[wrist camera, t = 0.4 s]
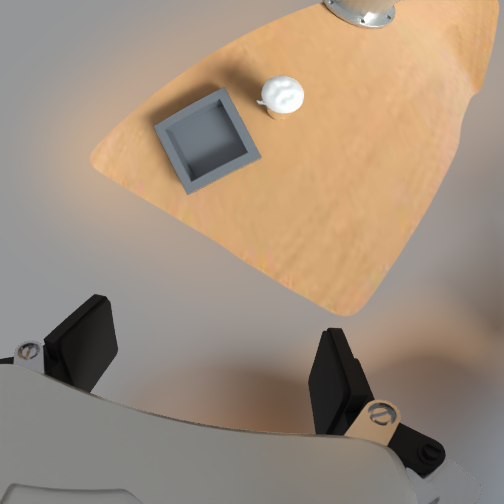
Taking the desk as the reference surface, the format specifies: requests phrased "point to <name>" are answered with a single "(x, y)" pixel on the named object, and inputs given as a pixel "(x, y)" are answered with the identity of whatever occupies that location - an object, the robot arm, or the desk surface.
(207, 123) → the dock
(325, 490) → the robot arm
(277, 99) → the milkshake
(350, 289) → the desk surface
